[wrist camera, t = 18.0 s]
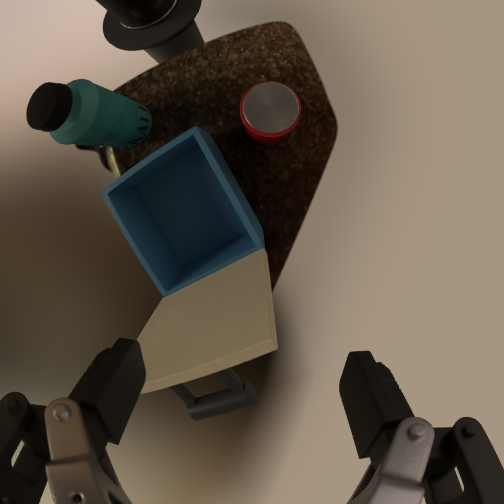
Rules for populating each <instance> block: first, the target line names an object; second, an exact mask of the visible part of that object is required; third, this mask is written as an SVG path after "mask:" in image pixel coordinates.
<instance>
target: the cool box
mask: <svg viewBox="0 0 504 504" xmlns="http://www.w3.org/2000/svg"><path fill="white" fill-rule="evenodd" d="M101 194H102V196H103V198H104V200H105V202H106V204H107V206H108V207H109V209H110V211H111V213H112V215H113V216H114V218H115V220H116V222H117V224H118V225H119V227H120V229H121V230H122V232H123V234H124V236H125V237H126V239H127V241H128V242H129V244H130V246H131V247H132V249H133V251H134V252H135V254H136V255H137V257H138V259H139V260H140V262H141V263H142V265H143V267H144V268H145V270H146V271H147V273H148V274H149V276H150V277H151V279H152V280H153V282H154V283H155V285H156V286H157V288H158V289H159V291H160V292H161V294H162V295H163V297H166V296H168V295H170V294H172V293H174V292H176V291H178V290H180V289H182V288H184V287H186V286H188V285H190V284H192V283H194V282H196V281H198V280H200V279H202V278H204V277H206V276H208V275H210V274H212V273H214V272H216V271H218V270H220V269H222V268H224V267H226V266H228V265H230V264H232V263H234V262H236V261H238V260H240V259H242V258H244V257H246V256H248V255H250V254H252V253H254V252H256V251H258V250H260V249H262V248H264V249H265V244H264V235H263V228H262V227H261V225H260V223H259V221H258V219H257V217H256V216H255V214H254V212H253V210H252V208H251V206H250V205H249V203H248V201H247V199H246V197H245V195H244V194H243V192H242V190H241V188H240V186H239V185H238V183H237V181H236V179H235V177H234V176H233V174H232V172H231V170H230V168H229V167H228V165H227V163H226V161H225V160H224V158H223V156H222V154H221V152H220V151H219V149H218V147H217V145H216V144H215V142H214V140H213V138H212V137H211V135H210V134H208V133H207V132H205V131H204V130H202V129H201V128H199V127H197V126H195V127H193V128H191V130H188V131H186V132H185V133H183V134H181V135H180V136H178V137H177V138H175V139H173V140H172V141H170V142H169V143H167V144H166V145H164V146H163V147H161V148H160V149H158V150H157V151H155V152H154V153H152V154H151V155H149V156H148V157H146V158H145V159H144V160H142V161H141V162H139V163H138V164H137V165H135V166H134V167H132V168H131V169H130V170H128V171H127V172H126V173H124V174H123V175H122V176H120V177H119V178H118V179H117V180H115V181H114V182H113V183H111V184H110V185H109V186H108V187H106V188H105V189H104V190H103V191H101Z"/></svg>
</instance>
